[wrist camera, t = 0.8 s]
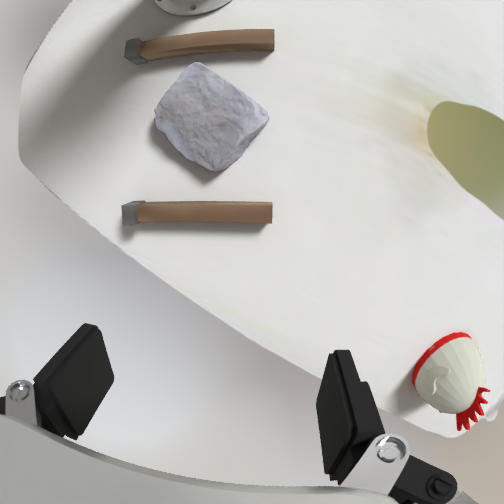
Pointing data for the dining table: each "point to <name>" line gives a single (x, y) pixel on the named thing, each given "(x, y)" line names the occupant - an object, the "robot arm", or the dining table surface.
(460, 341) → the white crested dome
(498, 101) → the dining table surface
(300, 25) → the dining table surface
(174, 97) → the stone block
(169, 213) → the walnut chute
